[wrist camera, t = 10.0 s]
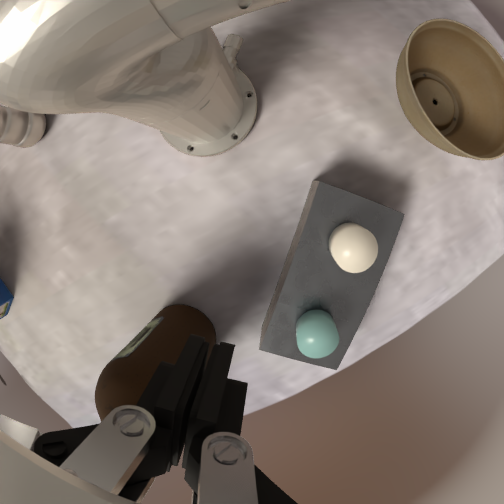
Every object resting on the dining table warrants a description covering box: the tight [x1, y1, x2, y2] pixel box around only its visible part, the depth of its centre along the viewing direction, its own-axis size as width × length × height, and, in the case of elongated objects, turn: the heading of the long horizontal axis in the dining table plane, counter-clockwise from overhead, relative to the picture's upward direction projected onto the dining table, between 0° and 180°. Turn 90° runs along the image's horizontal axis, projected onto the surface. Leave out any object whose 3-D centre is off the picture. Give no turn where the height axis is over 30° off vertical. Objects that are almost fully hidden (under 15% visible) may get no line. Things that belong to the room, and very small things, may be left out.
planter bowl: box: [396, 19, 504, 160], centre depth 26 cm, size 16×16×11 cm
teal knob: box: [296, 310, 339, 358], centre depth 34 cm, size 4×4×9 cm
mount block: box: [259, 181, 405, 370], centre depth 35 cm, size 20×10×6 cm, turn 163°
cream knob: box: [329, 223, 378, 273], centre depth 32 cm, size 4×4×9 cm
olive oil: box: [95, 305, 216, 422], centre depth 29 cm, size 11×11×25 cm
